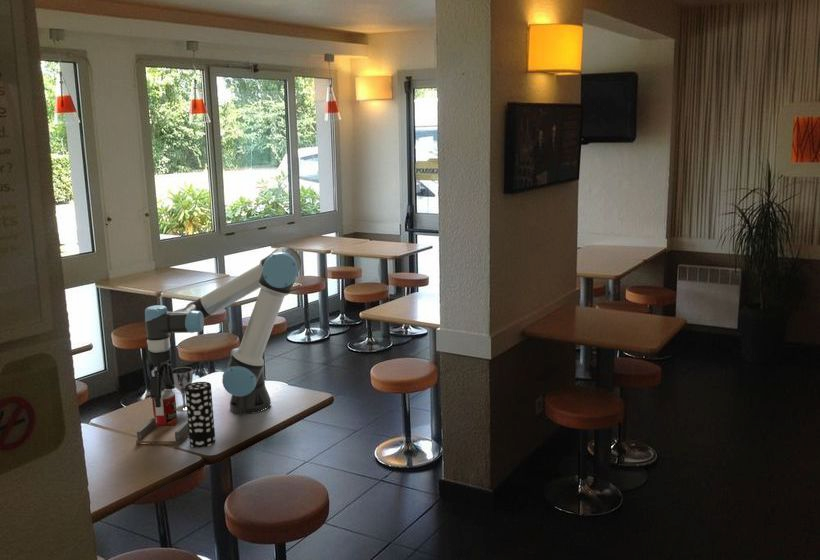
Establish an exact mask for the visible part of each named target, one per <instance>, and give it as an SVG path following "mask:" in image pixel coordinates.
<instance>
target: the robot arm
mask: <svg viewBox="0 0 820 560" xmlns="http://www.w3.org/2000/svg"><path fill="white" fill-rule="evenodd" d="M259 261H260V262H259V264H258V265H256V266H254V267H252V268H250V269H248V270H247V271H245V272H243V273H242V274H240V275H238V276H236V277H235V278H233V279H231V280H229V281H227V282H226V283H224V284H222V285H220V286H219V287H216V288H215V289H213V290H212V291H210V292H209V293H207V294H205V295H203V296H201V297H200V298H198V299H196V300H194V301H191V302H189V303H188V304H186V306H185V307H184V308H183V309H182V310H179V311H168V308H167V306H165V305H161V304H160V305H157V304H155V305H151V306H147V307H146V308H145V310H144V322H145V323H144V324H145V330H146V331H145V332H146V339H147V340H146V344H147V350H148V353H147V355H148V361H149V362H150V363H152V364H153V365H152V366H153V367H152V368H153V369H152V370H149V377H150V399H152V398H154V400H155V411H156V416H163V415H164V407H163V397H161V393H162V391H173V389H176V388H175V386H174V384H175V383H174V376H173V370H172V369H173V361H172V352H171V341H170V339H171V338H170V334H179V333H180V334H183V333H187V334H188V333H189V334H193V333H199V332H202V331H203V329H204V327H205V326H204V325H205V320H206V319H207V318H208V319H209V317H211V316H212V315H215V314H217V313H218V312H220V311H221V310H223V309H225V308H226V307H228V306H230V305H232V304H234V303H236V302H237V301H239V300H241V299H242V298H243V299H244V297H246V296H249V295H250V294H252V293H253V292H255V291H257V290H259V293H258V296H257V298H256V301H255V304H254V307H253V309H252V311H251V314H250V317H249V319H248V323H247V325H246V328H245V331H244V334H243V337H242V339H241V342H240V345H239V346H238V347H237V348H233V349H232V350H231V351H230V359H229V362H228V364H227V367H226V370H225V371H224V372H223V374H222V381H221V382H222V385H223V388H224V389H225V391H226V392H227V393H228V394H230V396H231V397H230V401H229V409H231V410H230V411H231V412H233V413H235V412H236V414H241V413H249V414H253V413H252V412H257V413H259V412H258V411H261V410H263V409H265V408H267V407H269V406H270V404H271V405H272V401H271V397H270V395H269V392H268V390H267V386H266V381H265V380H266V379H265V361H264V352H265V350H266V347H267V344H268V341H269V338H270V337H271V332H272V331H273V328H274V326H275V322H276V320H277V317H278V315H279V312H280V310H281V306H282V304H283V302H284V299H285V297H286V296H288V295H290V294H291V292H292V289H293V287H294V285H295V282H296V279H297V277H298V274H299V273H300V270H301V268H302V259H301V256H300V253H298V252H297V250H295V249H294V248H292V247H288V246H282V247H278V248H275V249H274V250H273V251H272V252H270V254H268V255H267V256H265V257H264V258H262V259H260V260H259ZM163 385H164V389H163ZM162 389H163V390H162ZM270 407H271V406H270ZM270 407H269V408H270ZM261 412H262V411H261Z"/></svg>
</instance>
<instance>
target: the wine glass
mask: <svg viewBox="0 0 820 560" xmlns="http://www.w3.org/2000/svg"><path fill="white" fill-rule="evenodd" d="M172 370H173V376H174V383H175V384H174V385H173V386H175V388H174V389H176V390H177V391H179V393H180V394H181V397H182V403H183V404H181V405H179V406H176V412H187V406H186V394H185V386H186V385H188V384H191V383H193V378H194V374H193V373H194V372H193V371H194V370H193V368H192V367H189V366H180V367H174V368H172Z"/></svg>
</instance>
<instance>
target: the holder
mask: <svg viewBox="0 0 820 560" xmlns="http://www.w3.org/2000/svg"><path fill="white" fill-rule="evenodd" d="M136 435H137V437H136V438H137V439H136V440H135V442H136V443H154V444H153V445H164V444H166V446H167V445H173V446H175V445H176V446H179V445H182V443H183V442H185V440H186V439H187V438H188V437H189V429H188V419H187V420H185V422H184V423H182V424H181V425H179V426H177V425H171V426H156V420H155V418H154V417H153V418H152V417H151V419H149V420H148V421H147V422H146V423H145V424H144V425H142V427H141V428H140V429H138V430H137V431H136Z"/></svg>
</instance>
